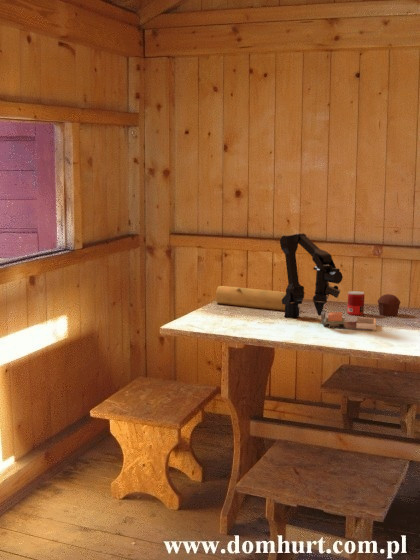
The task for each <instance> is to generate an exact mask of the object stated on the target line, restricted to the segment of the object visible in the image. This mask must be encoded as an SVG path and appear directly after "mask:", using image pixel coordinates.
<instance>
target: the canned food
mask: <svg viewBox="0 0 420 560" xmlns="http://www.w3.org/2000/svg"><path fill="white" fill-rule="evenodd" d="M346 309H347V311H346V312H347V315H350V316H355V317H360V316H363V315H364V311H365V310H364V309H365V292H364V291H359V290H357V291H355V290H351V291H350V290H349V291H348V293H347V308H346Z"/></svg>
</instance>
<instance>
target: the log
mask: <svg viewBox="0 0 420 560" xmlns="http://www.w3.org/2000/svg"><path fill="white" fill-rule="evenodd" d="M285 295H286V291H277V290H269V289H268V290H267V289H257V288H249V287H248V288H247V287H239V286H226V285H219V286H218V287H216V292H215V297H214V298H215V302H216V303H217V304H220V305H226V306H235V307H236V306H237V307H243V308H253V309H261V310H262V309H264V310H272V311H273V310H274V311H283V312H285V305H284V304H282V299H283V298H284V296H285Z"/></svg>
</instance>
